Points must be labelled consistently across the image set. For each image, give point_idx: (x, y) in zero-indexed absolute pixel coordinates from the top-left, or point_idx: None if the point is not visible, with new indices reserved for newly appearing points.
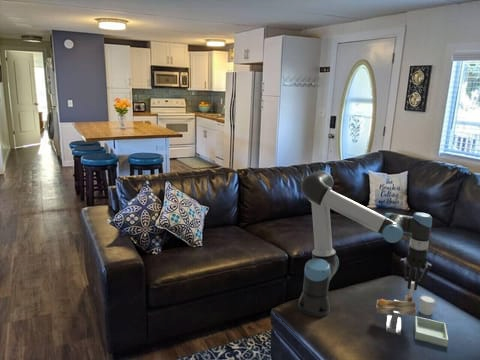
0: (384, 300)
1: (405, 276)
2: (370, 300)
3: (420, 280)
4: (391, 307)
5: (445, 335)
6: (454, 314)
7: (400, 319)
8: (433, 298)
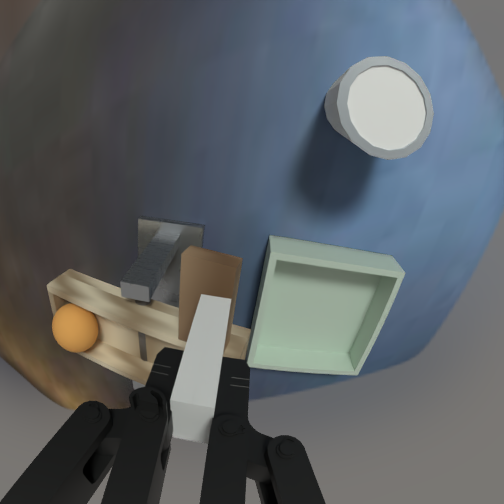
0: (71, 346)
1: (87, 473)
2: (71, 96)
3: (262, 497)
4: (116, 371)
5: (365, 341)
6: (478, 112)
7: (198, 243)
8: (428, 92)
